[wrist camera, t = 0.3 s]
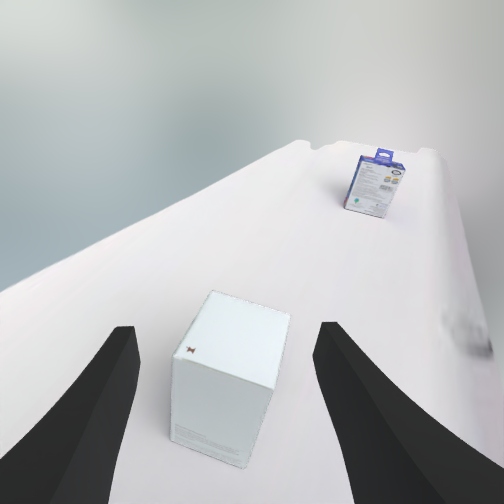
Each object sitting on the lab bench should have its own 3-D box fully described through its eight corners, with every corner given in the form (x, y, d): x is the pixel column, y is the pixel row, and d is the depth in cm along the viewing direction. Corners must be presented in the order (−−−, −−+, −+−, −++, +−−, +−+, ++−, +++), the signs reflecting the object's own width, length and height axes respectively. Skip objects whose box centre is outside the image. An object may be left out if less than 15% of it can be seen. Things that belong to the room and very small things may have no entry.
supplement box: (245, 472, 26) (275, 393, 19) (167, 441, 27) (167, 354, 20) (265, 395, 32) (294, 313, 25) (201, 372, 33) (210, 286, 26)
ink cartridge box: (382, 209, 78) (407, 153, 70) (384, 219, 73) (412, 160, 65) (343, 200, 79) (364, 143, 71) (343, 209, 74) (365, 149, 66)
